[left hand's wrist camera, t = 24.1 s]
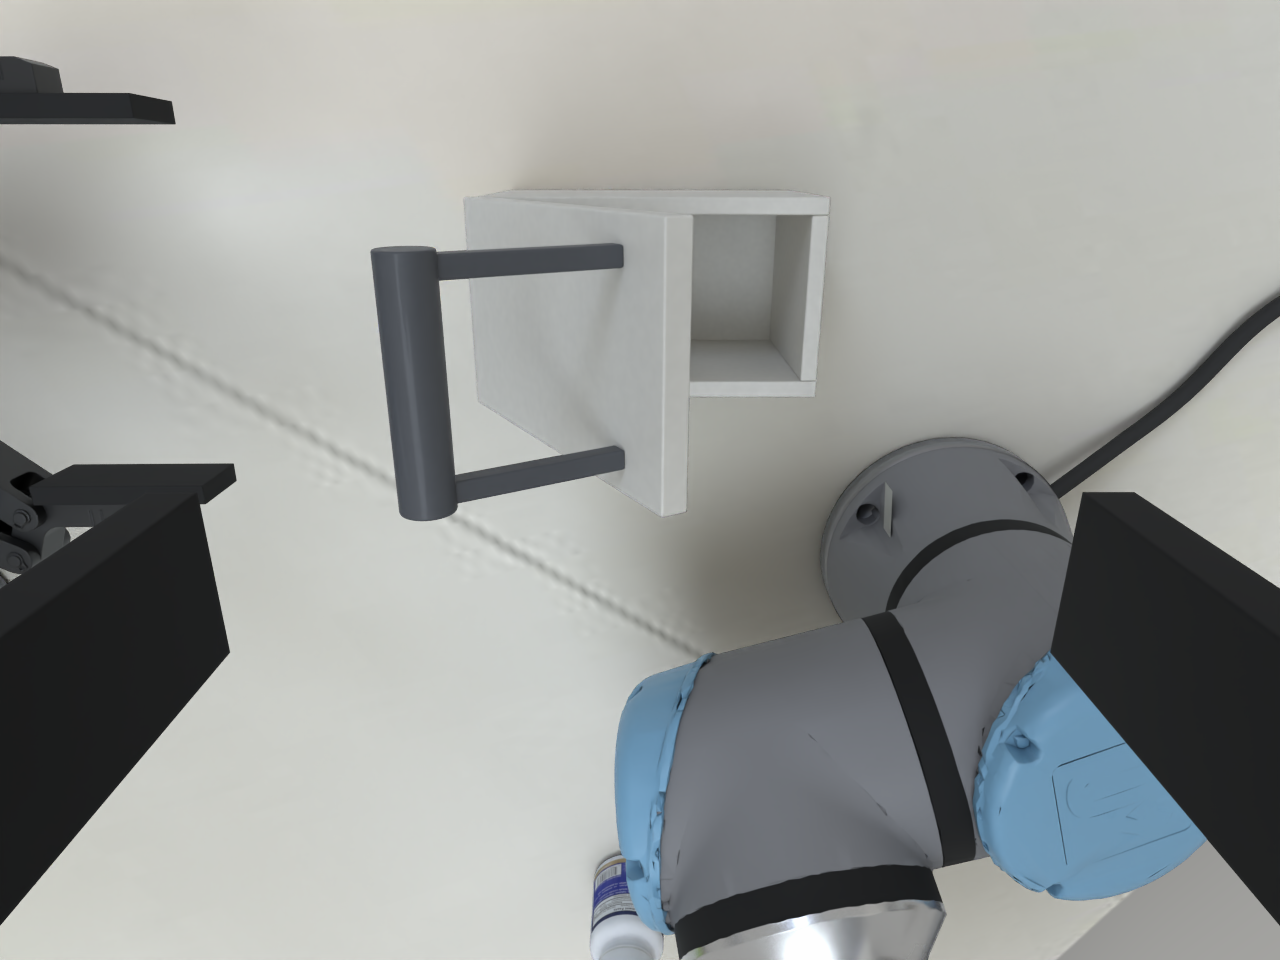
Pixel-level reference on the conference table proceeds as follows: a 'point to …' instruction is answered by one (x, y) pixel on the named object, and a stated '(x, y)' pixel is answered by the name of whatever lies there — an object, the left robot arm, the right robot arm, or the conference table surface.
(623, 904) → the pill bottle
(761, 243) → the chest
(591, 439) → the lid
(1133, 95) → the conference table surface
